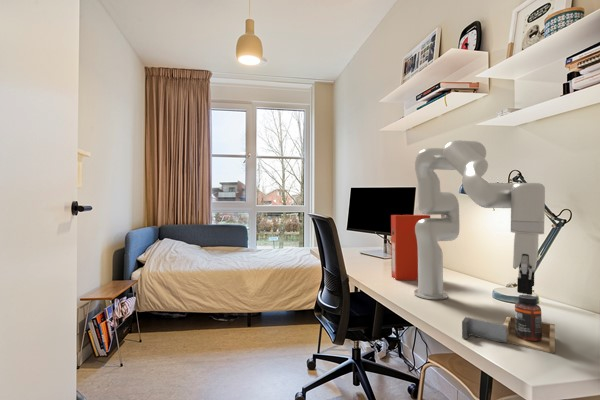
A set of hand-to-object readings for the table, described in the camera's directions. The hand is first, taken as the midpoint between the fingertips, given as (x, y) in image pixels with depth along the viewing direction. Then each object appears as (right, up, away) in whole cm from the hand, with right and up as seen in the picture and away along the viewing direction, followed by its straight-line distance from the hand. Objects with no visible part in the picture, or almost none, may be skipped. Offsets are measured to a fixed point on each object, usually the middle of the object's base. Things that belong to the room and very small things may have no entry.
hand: (525, 289), depth 87 cm
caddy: (0, -14, -1) cm, 14 cm away
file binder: (-6, -15, +72) cm, 74 cm away
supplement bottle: (0, -13, -1) cm, 13 cm away
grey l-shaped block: (-12, -14, -1) cm, 18 cm away
